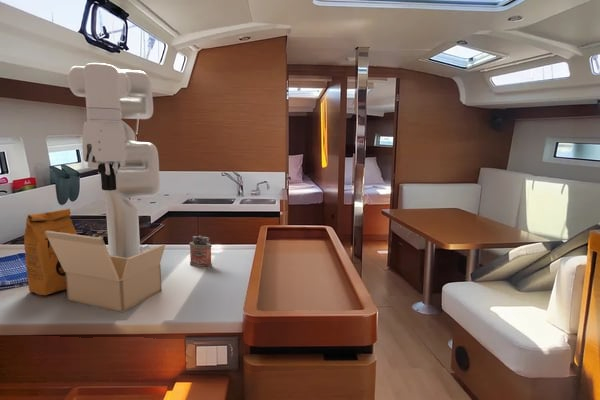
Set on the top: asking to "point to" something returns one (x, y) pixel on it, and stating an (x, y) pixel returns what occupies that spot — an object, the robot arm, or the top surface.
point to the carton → (119, 282)
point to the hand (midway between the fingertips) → (109, 189)
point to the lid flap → (82, 255)
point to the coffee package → (45, 251)
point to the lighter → (200, 252)
